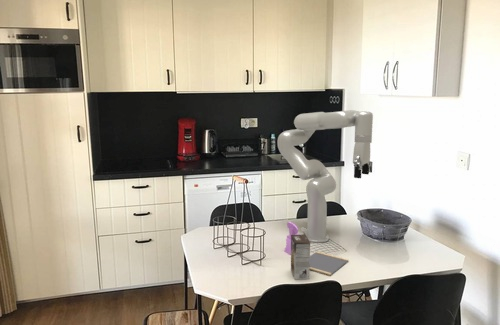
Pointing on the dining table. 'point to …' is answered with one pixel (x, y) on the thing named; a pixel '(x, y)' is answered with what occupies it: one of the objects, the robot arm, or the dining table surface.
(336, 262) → the mat
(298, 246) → the coffee box
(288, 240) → the toy chair
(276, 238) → the dining table surface
